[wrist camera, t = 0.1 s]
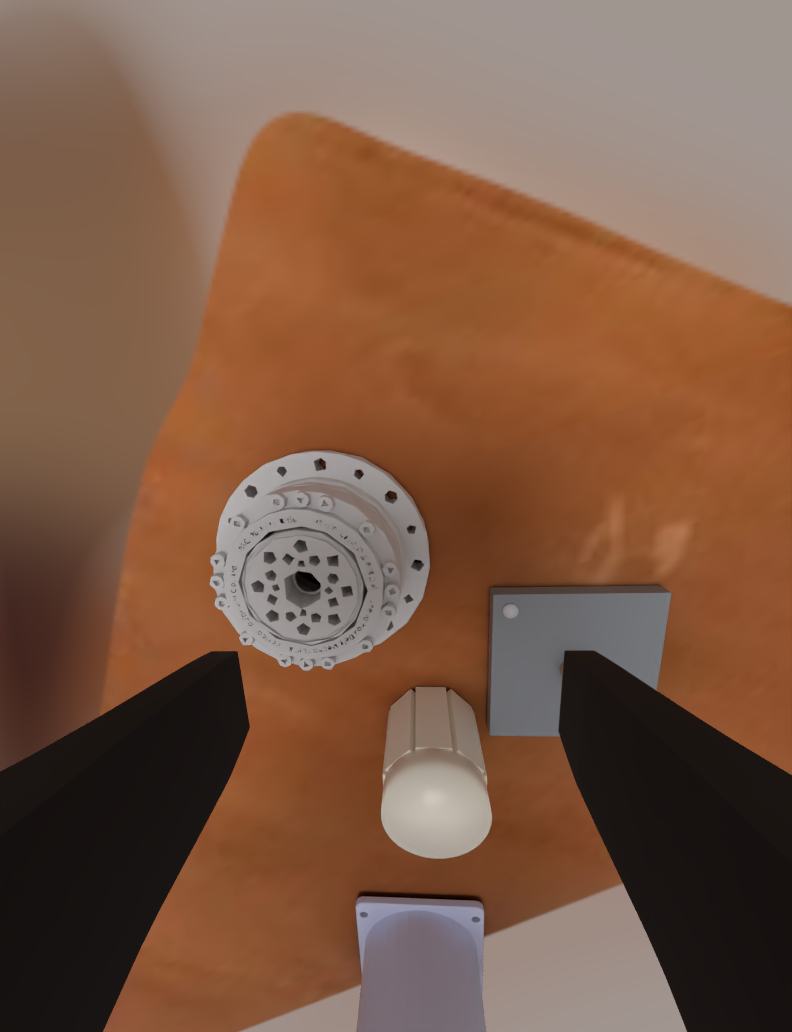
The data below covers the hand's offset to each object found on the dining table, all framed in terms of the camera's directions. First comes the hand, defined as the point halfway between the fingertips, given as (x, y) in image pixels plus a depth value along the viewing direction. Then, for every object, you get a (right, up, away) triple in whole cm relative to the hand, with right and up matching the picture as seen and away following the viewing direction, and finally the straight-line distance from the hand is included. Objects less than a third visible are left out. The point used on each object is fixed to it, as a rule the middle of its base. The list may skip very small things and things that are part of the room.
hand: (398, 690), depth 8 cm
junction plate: (+9, -3, +11) cm, 14 cm away
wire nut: (+2, -7, +12) cm, 14 cm away
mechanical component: (-3, +2, +10) cm, 11 cm away
